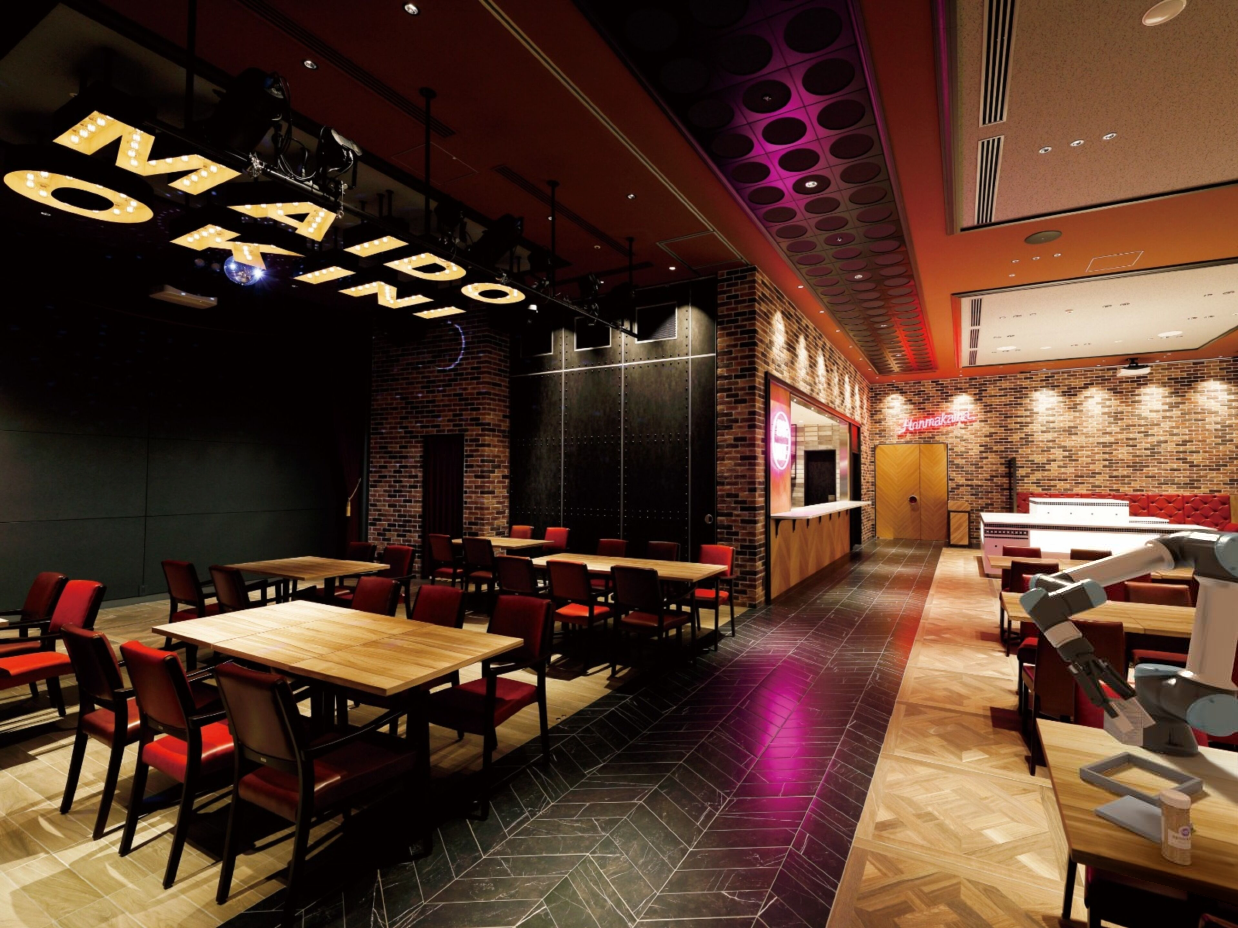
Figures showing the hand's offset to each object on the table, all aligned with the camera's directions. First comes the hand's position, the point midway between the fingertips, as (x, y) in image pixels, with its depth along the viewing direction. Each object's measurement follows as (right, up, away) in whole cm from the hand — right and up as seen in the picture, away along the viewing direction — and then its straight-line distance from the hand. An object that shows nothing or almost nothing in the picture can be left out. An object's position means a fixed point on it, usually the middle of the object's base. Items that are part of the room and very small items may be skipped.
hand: (1139, 727), depth 140 cm
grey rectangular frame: (+7, -18, +8) cm, 21 cm away
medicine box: (-1, -4, +3) cm, 6 cm away
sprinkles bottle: (-12, -18, -21) cm, 30 cm away
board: (-7, -18, -8) cm, 20 cm away
